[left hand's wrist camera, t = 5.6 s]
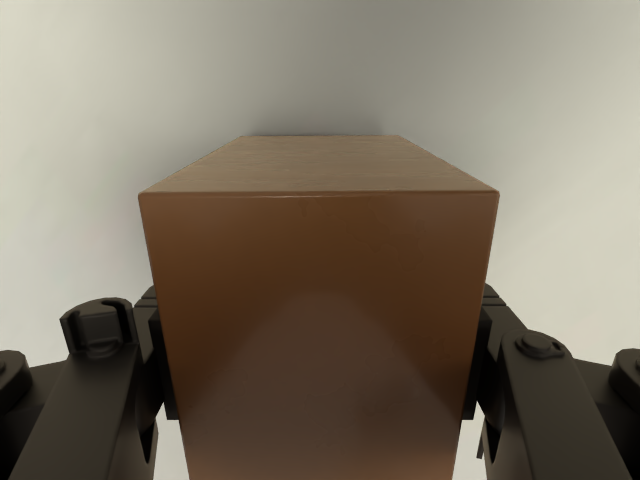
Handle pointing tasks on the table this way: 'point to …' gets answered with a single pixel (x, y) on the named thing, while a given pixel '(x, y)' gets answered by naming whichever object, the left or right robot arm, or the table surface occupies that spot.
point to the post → (319, 305)
